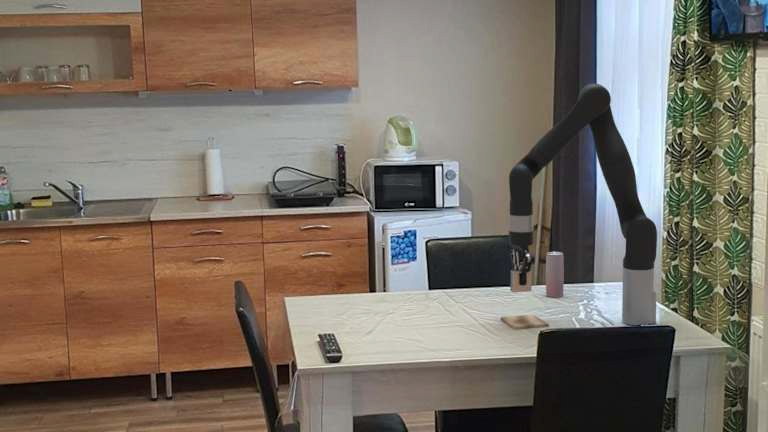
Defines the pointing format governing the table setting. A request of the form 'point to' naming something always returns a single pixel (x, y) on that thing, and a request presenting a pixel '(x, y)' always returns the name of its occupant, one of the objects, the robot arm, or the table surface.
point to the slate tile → (515, 282)
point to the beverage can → (554, 274)
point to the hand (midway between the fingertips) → (521, 283)
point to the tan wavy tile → (524, 321)
